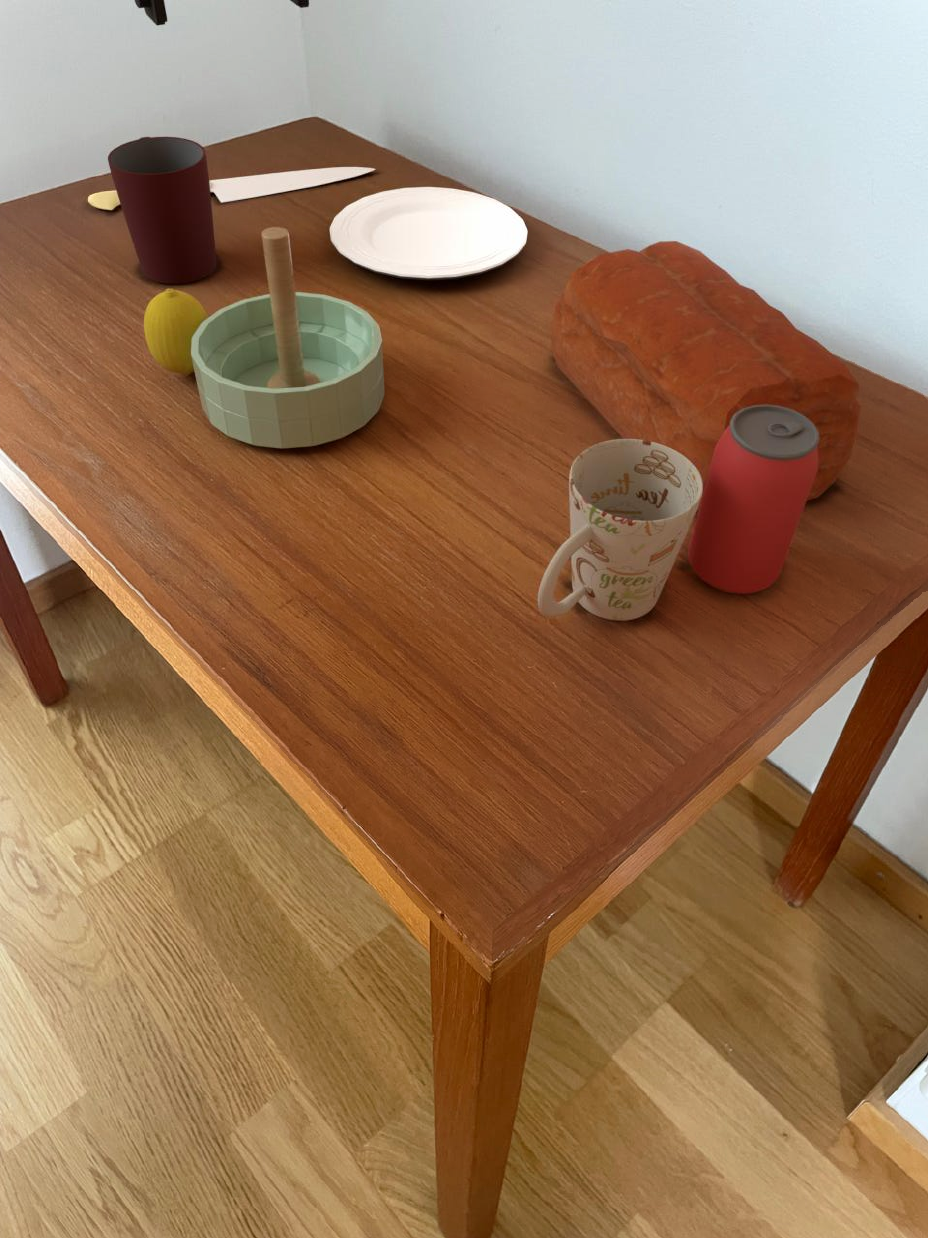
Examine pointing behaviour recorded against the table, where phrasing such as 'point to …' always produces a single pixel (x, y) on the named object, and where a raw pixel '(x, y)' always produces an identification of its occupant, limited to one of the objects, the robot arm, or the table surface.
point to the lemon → (173, 329)
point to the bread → (694, 356)
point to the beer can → (754, 498)
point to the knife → (254, 184)
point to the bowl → (247, 358)
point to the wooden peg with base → (284, 311)
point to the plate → (428, 233)
